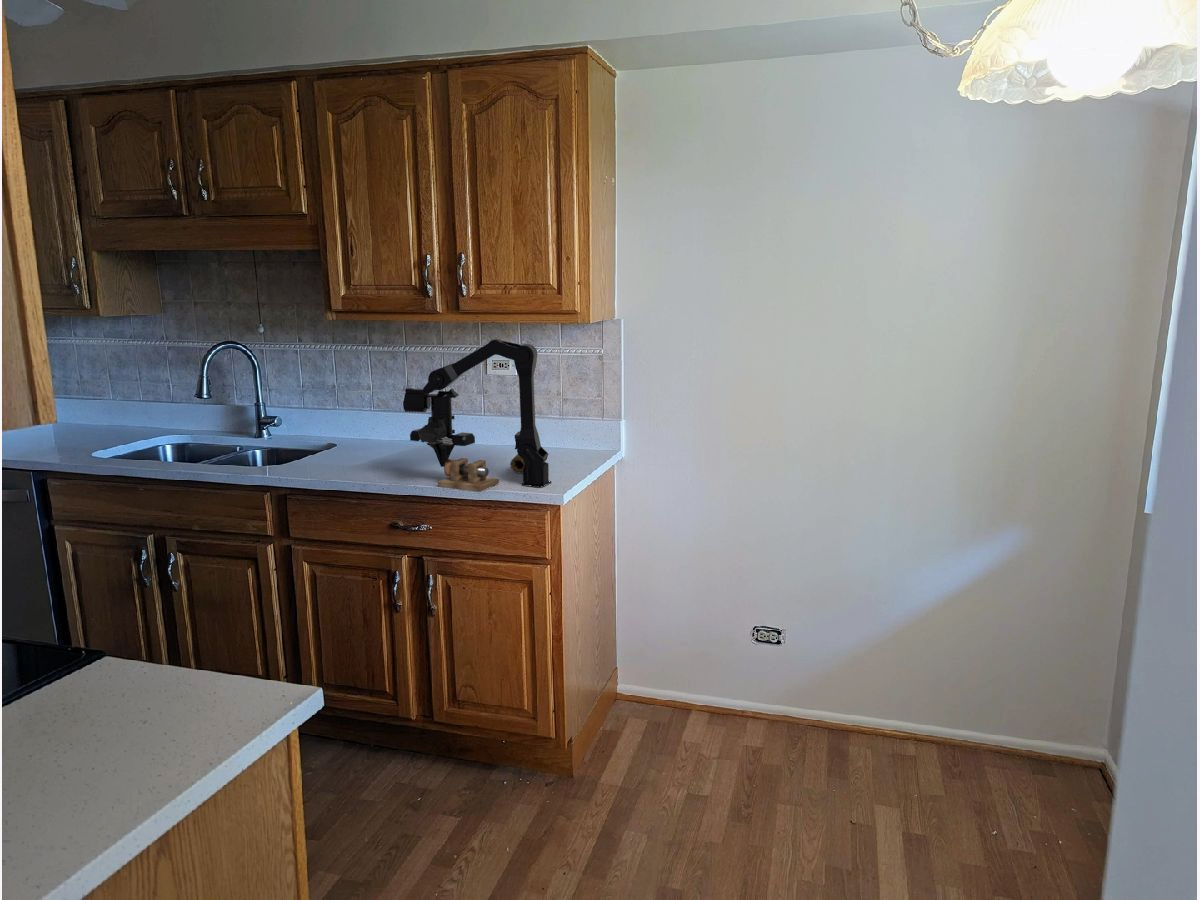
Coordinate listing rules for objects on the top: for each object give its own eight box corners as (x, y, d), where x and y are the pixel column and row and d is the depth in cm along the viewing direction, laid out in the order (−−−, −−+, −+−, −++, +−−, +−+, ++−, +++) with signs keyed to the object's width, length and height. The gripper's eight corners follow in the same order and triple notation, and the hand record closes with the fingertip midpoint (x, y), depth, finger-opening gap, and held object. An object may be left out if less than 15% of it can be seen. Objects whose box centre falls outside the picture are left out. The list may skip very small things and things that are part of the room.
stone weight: (525, 464, 271) (525, 443, 270) (546, 465, 269) (546, 444, 268) (508, 474, 257) (508, 452, 256) (530, 476, 255) (530, 454, 254)
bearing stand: (499, 484, 245) (498, 460, 243) (480, 491, 236) (479, 467, 234) (457, 479, 250) (457, 455, 249) (437, 486, 242) (437, 462, 240)
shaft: (491, 478, 242) (490, 461, 242) (481, 482, 238) (481, 464, 237) (454, 474, 248) (453, 457, 247) (444, 478, 243) (443, 460, 242)
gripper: (396, 414, 239) (399, 468, 242) (453, 419, 231) (454, 475, 235) (420, 408, 249) (422, 461, 252) (475, 413, 241) (476, 467, 245)
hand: (443, 466), depth 246 cm, fingers closed
